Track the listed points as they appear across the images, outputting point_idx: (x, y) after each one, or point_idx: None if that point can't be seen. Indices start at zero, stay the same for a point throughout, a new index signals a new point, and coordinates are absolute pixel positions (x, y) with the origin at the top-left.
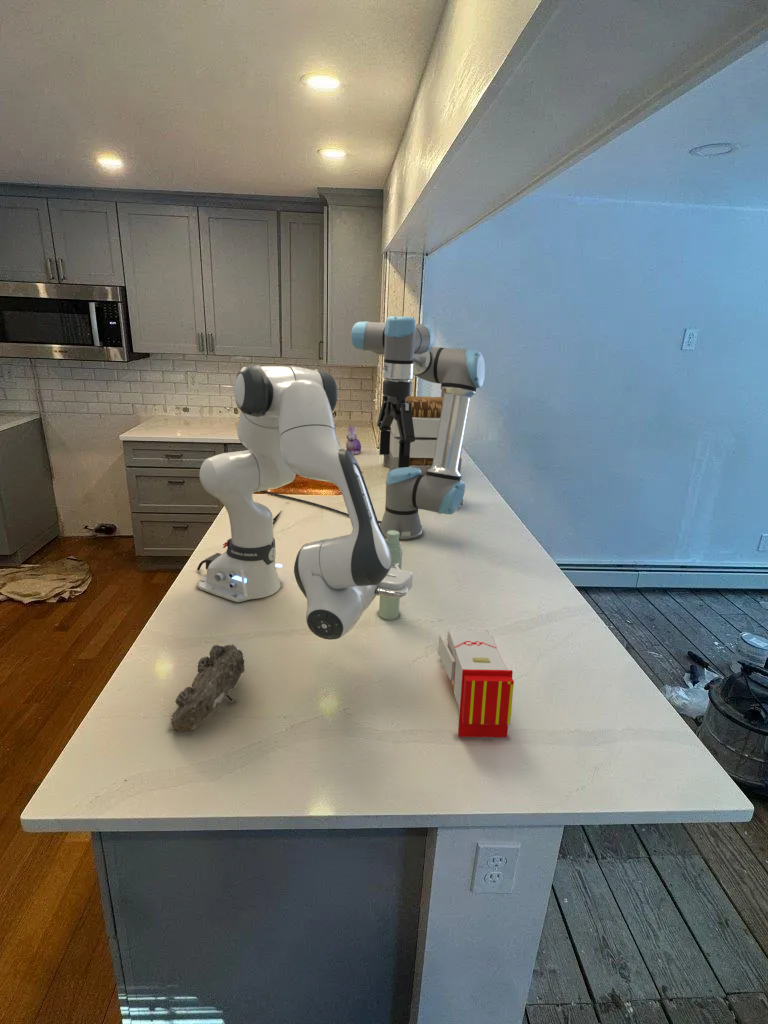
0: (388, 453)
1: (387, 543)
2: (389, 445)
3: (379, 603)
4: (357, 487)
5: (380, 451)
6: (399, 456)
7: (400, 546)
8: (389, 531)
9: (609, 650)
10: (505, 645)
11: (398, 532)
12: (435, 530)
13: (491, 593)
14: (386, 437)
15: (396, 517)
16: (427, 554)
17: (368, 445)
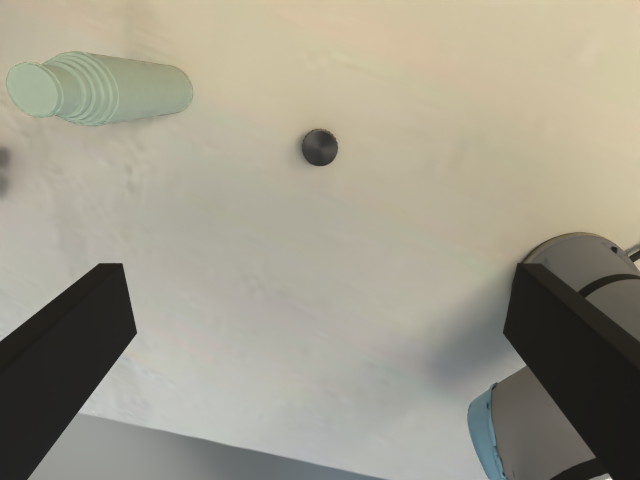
0: (507, 330)
1: (44, 64)
2: (542, 382)
3: (164, 65)
4: None
5: (532, 276)
6: (50, 312)
7: (78, 122)
8: (42, 78)
9: None
10: (34, 257)
11: (32, 113)
12: None
13: (218, 324)
14: (610, 421)
15: (574, 284)
16: (422, 289)
17: None
